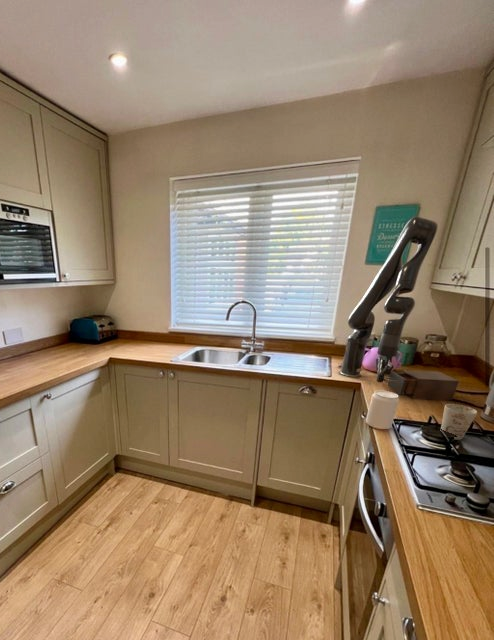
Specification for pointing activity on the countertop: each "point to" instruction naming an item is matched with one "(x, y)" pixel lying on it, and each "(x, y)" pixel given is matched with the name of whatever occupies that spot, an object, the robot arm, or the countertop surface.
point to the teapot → (372, 355)
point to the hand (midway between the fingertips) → (379, 381)
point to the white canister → (382, 409)
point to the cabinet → (432, 385)
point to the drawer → (400, 383)
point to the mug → (457, 419)
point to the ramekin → (408, 379)
